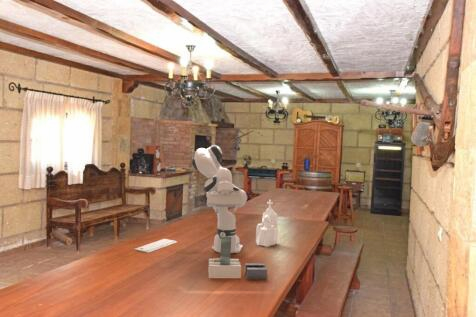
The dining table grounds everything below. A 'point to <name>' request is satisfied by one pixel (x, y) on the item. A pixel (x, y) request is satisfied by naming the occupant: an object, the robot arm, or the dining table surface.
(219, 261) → the pine offcut
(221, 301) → the dining table surface
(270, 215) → the religious statue
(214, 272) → the white rack
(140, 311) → the dining table surface
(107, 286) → the dining table surface
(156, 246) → the white keyboard
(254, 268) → the charcoal holder
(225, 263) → the teal board
